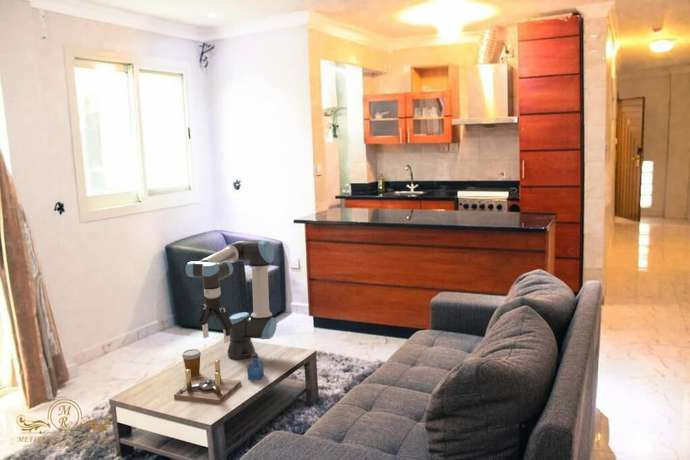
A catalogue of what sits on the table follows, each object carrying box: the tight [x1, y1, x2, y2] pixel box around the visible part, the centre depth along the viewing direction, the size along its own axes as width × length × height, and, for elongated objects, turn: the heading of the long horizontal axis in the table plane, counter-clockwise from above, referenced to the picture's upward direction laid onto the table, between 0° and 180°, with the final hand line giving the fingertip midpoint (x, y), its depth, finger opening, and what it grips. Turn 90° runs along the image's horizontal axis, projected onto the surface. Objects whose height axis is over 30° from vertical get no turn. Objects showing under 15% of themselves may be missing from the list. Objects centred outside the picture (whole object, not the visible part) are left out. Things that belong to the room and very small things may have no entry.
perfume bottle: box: [246, 353, 265, 381], centre depth 289 cm, size 6×6×12 cm
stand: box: [173, 375, 242, 405], centre depth 276 cm, size 21×24×4 cm
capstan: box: [185, 359, 222, 394], centre depth 277 cm, size 16×18×10 cm
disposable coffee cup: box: [181, 348, 202, 378], centre depth 296 cm, size 10×10×12 cm
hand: (216, 339), depth 269 cm, fingers open, 13 cm apart
